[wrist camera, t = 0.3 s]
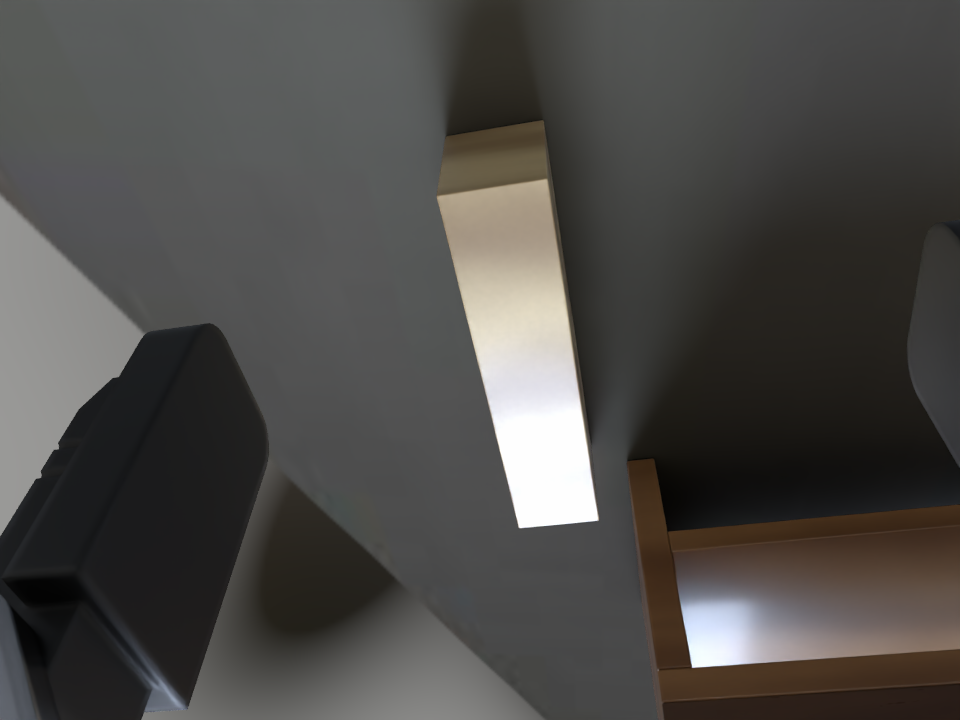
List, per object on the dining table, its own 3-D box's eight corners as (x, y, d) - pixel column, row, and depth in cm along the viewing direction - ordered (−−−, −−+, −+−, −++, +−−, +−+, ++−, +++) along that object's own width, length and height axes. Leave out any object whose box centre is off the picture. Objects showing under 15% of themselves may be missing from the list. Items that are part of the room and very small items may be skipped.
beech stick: (445, 135, 26) (436, 195, 23) (543, 119, 26) (547, 177, 23) (518, 455, 36) (518, 528, 33) (591, 447, 35) (599, 520, 32)
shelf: (626, 460, 36) (666, 738, 26) (1128, 407, 33) (1376, 697, 23) (642, 605, 42) (678, 867, 33) (1058, 571, 40) (1229, 847, 30)
